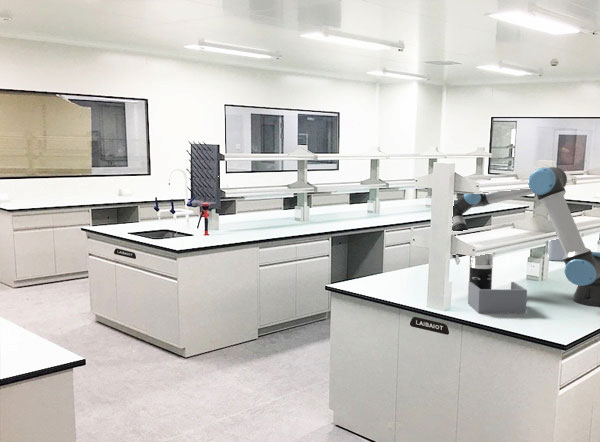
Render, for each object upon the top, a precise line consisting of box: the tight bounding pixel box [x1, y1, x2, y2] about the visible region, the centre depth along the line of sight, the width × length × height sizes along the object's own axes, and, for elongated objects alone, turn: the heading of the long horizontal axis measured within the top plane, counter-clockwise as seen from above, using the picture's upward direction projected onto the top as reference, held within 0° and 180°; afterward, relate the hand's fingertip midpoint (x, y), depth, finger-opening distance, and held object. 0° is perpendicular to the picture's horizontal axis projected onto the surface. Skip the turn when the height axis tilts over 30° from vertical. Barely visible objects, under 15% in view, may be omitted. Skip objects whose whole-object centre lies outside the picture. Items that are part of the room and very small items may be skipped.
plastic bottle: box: [548, 239, 565, 262], centre depth 358 cm, size 15×15×28 cm
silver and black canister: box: [468, 253, 494, 289], centre depth 259 cm, size 10×10×25 cm
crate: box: [467, 281, 528, 314], centre depth 244 cm, size 20×16×10 cm
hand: (471, 262), depth 267 cm, fingers open, 13 cm apart
